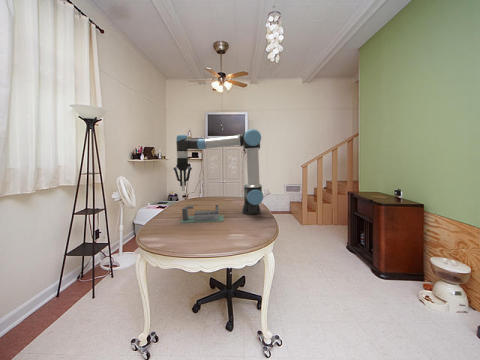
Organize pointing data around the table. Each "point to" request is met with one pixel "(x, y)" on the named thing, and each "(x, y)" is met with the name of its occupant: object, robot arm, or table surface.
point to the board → (191, 220)
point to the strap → (205, 209)
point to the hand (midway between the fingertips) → (183, 190)
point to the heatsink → (206, 215)
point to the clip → (186, 212)
